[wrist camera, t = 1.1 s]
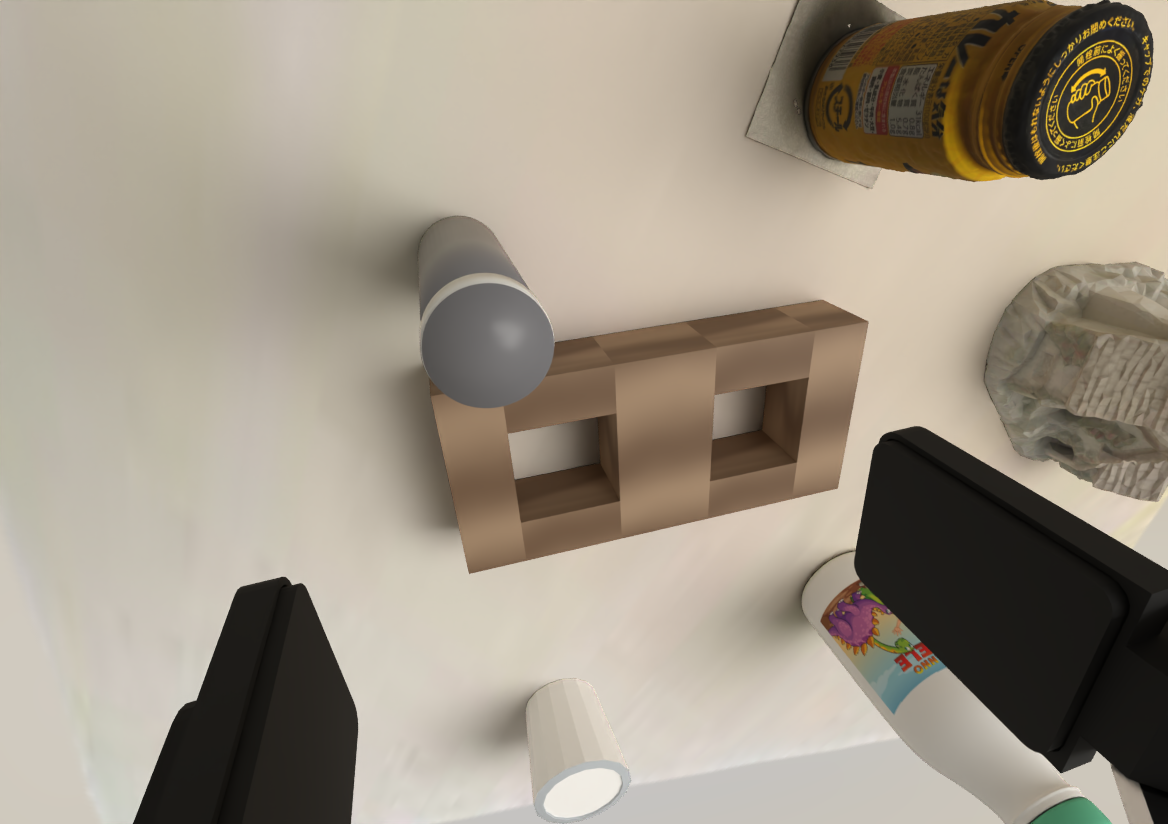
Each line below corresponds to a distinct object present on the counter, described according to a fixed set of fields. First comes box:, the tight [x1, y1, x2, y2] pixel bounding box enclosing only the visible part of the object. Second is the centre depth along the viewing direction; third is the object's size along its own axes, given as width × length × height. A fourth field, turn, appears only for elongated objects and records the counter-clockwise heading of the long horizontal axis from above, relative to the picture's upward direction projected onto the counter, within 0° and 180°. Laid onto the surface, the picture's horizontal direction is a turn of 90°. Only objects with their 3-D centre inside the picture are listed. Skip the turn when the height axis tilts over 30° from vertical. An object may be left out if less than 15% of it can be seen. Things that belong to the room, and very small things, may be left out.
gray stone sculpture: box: [984, 262, 1168, 502], centre depth 37 cm, size 16×16×15 cm
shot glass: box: [525, 678, 631, 824], centre depth 42 cm, size 7×7×7 cm
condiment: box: [746, 0, 1153, 189], centre depth 24 cm, size 7×8×12 cm
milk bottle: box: [801, 551, 1112, 824], centre depth 39 cm, size 8×8×20 cm
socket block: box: [429, 300, 868, 574], centre depth 33 cm, size 11×23×4 cm, turn 94°
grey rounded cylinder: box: [418, 216, 554, 408], centre depth 23 cm, size 4×4×12 cm
